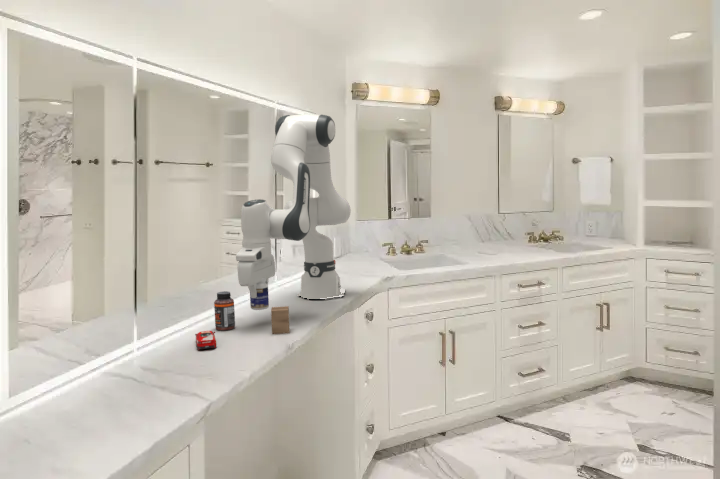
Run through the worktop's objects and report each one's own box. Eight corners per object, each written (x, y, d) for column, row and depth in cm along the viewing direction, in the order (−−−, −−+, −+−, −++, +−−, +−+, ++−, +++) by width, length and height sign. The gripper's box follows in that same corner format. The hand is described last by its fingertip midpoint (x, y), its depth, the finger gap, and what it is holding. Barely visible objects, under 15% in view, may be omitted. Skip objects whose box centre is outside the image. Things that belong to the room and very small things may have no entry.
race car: (195, 340, 154) (194, 326, 154) (215, 338, 156) (214, 324, 155) (195, 352, 141) (195, 338, 141) (217, 350, 143) (216, 335, 143)
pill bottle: (256, 311, 166) (254, 279, 165) (247, 308, 170) (245, 277, 169) (272, 308, 170) (270, 276, 169) (263, 305, 174) (261, 275, 173)
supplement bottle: (211, 329, 165) (209, 292, 164) (228, 325, 170) (226, 289, 169) (222, 332, 161) (220, 294, 160) (239, 328, 166) (237, 291, 165)
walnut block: (272, 330, 162) (271, 307, 161) (289, 329, 163) (288, 306, 162) (272, 334, 157) (271, 310, 157) (289, 333, 158) (288, 309, 157)
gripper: (261, 247, 179) (263, 288, 180) (232, 256, 159) (235, 302, 160) (279, 247, 177) (280, 289, 179) (252, 256, 158) (255, 302, 159)
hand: (259, 295), depth 169 cm, fingers closed on pill bottle, 6 cm apart
